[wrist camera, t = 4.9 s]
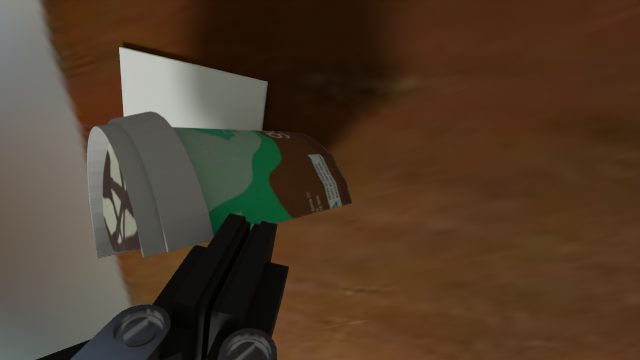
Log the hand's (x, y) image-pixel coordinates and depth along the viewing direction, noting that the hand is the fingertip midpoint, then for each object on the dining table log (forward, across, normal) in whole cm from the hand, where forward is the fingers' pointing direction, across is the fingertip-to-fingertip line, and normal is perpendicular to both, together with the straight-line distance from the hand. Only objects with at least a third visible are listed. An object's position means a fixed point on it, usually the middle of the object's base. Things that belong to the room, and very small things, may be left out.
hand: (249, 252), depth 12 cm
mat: (+12, +8, +2) cm, 15 cm away
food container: (+10, 0, +1) cm, 10 cm away
